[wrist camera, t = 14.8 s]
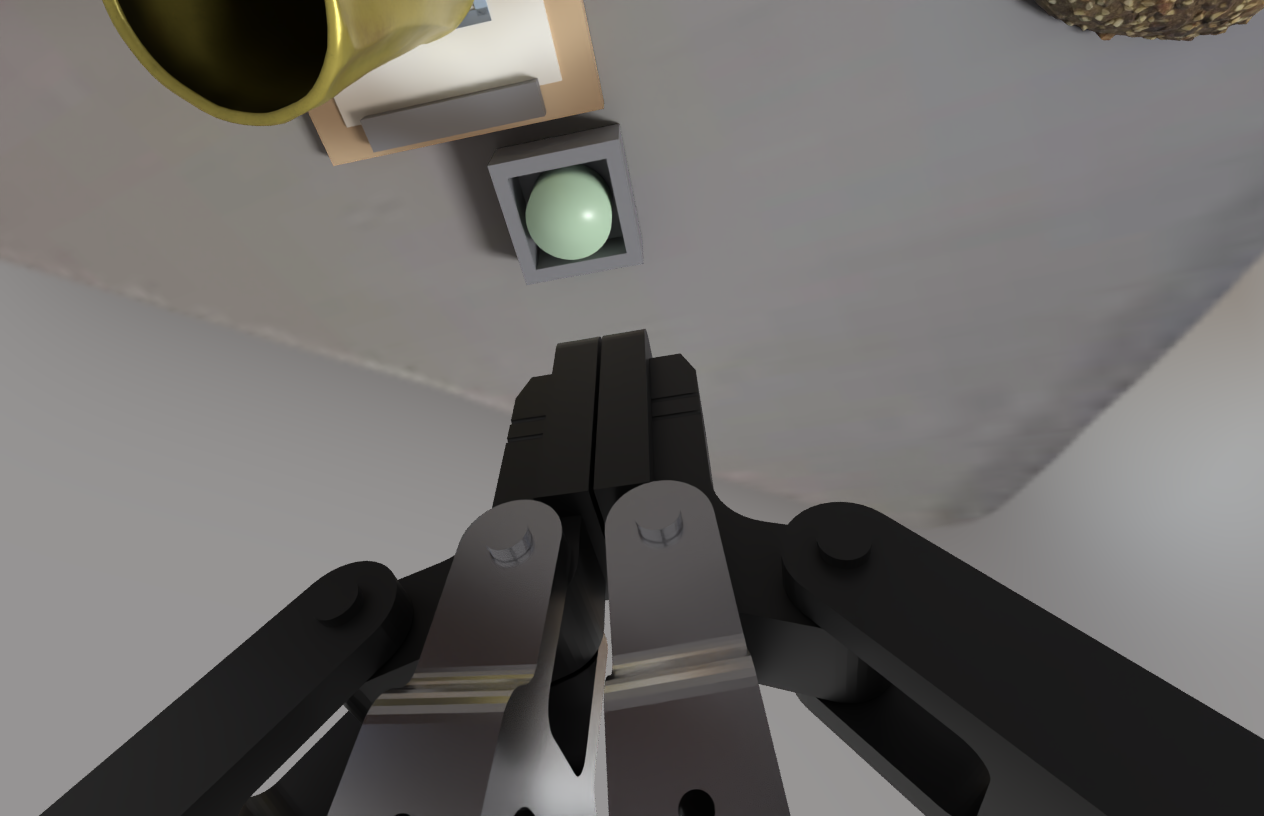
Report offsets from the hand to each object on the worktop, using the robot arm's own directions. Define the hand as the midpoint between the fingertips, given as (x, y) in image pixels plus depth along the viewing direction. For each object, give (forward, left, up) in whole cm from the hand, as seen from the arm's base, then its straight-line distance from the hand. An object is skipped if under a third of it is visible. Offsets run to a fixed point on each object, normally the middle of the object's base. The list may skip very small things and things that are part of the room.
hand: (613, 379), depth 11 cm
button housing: (+5, -4, -23) cm, 24 cm away
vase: (-6, -8, -22) cm, 24 cm away
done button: (+5, -3, -22) cm, 23 cm away
